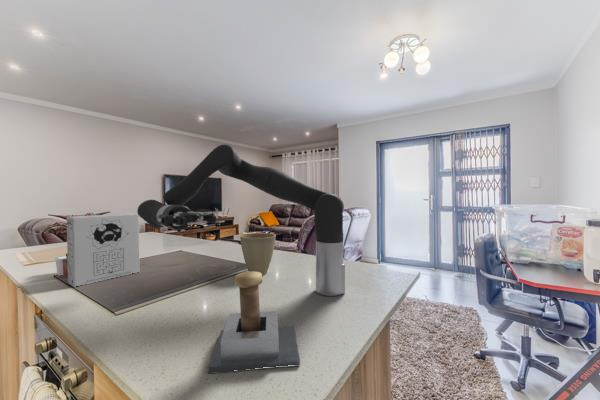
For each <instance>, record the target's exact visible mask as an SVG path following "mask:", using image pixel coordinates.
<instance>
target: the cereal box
mask: <svg viewBox="0 0 600 400" xmlns="http://www.w3.org/2000/svg"><path fill="white" fill-rule="evenodd" d="M139 217H140V216H139V215H138V213H133V212H132V213H131V212H130V213H114V214H113V213H111V214H96V215H94V214H91V215H75V216H67V217H66V243H67V244H66V245H67V246H66V247H67V248H66V249H67V252H66V253H67V257H68V278H67V283H69V285H71V286H72V287H73V288H77V287H76V286H79V287H81V286H80V285H83V286H86V285H85V284H87V285H91V284H90V283H92V284H95V283H94V282H96V283H99V282H98V281H101V282H104V281H103V280H105V281H108V280H107V279H109V280H112V279H111V278H114V279H117V278H116V277H118V278H121V277H120V276H123V277H125V276H124V275H127V276H130V275H129V274H131V275H133V274H132V273H136V274H138V273H137V272H139V273H140V272H141V271H140V219H139Z"/></svg>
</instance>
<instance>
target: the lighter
mask: <svg viewBox="0 0 600 400" xmlns="http://www.w3.org/2000/svg"><path fill="white" fill-rule="evenodd" d="M65 256H66V257H67V252H66V253H65ZM62 261H63V276H62V279H64V278H65V279H68V257H67V258H65V259H62Z"/></svg>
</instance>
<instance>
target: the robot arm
mask: <svg viewBox="0 0 600 400" xmlns="http://www.w3.org/2000/svg"><path fill="white" fill-rule="evenodd" d="M217 171H219V173H220V174H223V175H224V176H227V177H230V178H233V179H236V180H238V181H242V182H244V183H246V184H249V185H250V186H252V187H254V188H256V189H257V190H260V191H263V193H265V194H267V195H270V196H273V197H274V198H278V199H280V200H283V201H286V202H290V203H293V204H297V205H300V206H303V207H306V208H308V209H309V210H312V211H313V212H314V233H315V292H316V293H317V294H318V295H321V296H326V297H336V296H339V295H343V294H346V265H345V264H344V229H343V228H344V227H343V226H344V225H343V224H344V222H343V221H344V217H343V214H344V209H345V208H344V207H345V205H344V202H343V200H342V198H341V197H340V196H339V195H337V194H334V193H330V192H328V191H323V190H320V189H318V188H314V187H312V186H310V185H308V184H306V183H305V182H303V181H302V180H300V179H297V178H296V177H294V176H292V175H290V174H288V173H286V172H283V171H282V170H279V169H276V168H274V167H270V166H259V165H255V164H252V163H249V162H247V161H246V160H244V159H243V158H241V157H240V156H239V155H238V153H237V152H236V150H235V149H234V147H232V146H231V145H229V144H220V145H218V146H216V147H215V148H213V150H211V151H210V153H209V154H207V156H205V158H203V160H202V161H201V162H200V163H199V164H198V165H197V166H195V168H194V169H192V171H190V173H189V174H188V175H186V176H185V177H184V178H182V180H180V181H179V182H178V183H177V184H175V185H174V186H172V187H171V188H170V189H168V190H167V191H166V192H165V193H164V194H163V196H162V198H163V200H164V202H165V203H166V204H165V203H163V202H161V201H158V200H156V199H147V200H145V201H143V202H141V203H139V205H138V207H137V210H136V212H137V214H138V215H139V217H140V218H141V219H143V220H144V222H146V223H147V224H149V226H151V227H152V228H154V229H160V228H163V227H164V228H166V229H170V230H171V229H172V230H175V231H183V230H185V229H187V228H189V226H192V225H203V224H204V223H206V224H209V223H210V224H216V222H217V216H216V214H215V213H213V212H204V211H203V212H202V211H192V210H191V209H190V208H189V207H188V206H186V203H188V202H189V201H190V200H192V199H193V198H194V197H195V196H196V194H198V193H199V191H200V190H201V188H202V186H203V185H204V183H205V182H206V181H207V180H208V179H209V178H210V176H212V175H214V173H216V172H217Z"/></svg>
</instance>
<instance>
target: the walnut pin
mask: <svg viewBox="0 0 600 400" xmlns="http://www.w3.org/2000/svg"><path fill="white" fill-rule="evenodd" d="M262 283H263V275H262V274H261V273H260V272H256V271H249V272H248V271H244V272H240V273H238V274H236V275H234V284H235V286H236V287H237V288H238V289H239V303H240V304H239V306H240V308H239V309H240V313H241V331H242V332H252V331H261V329H260V312H261V311H260V309H261V308H260V290H259V288H260V287H259V286H260V285H261V284H262Z"/></svg>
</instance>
